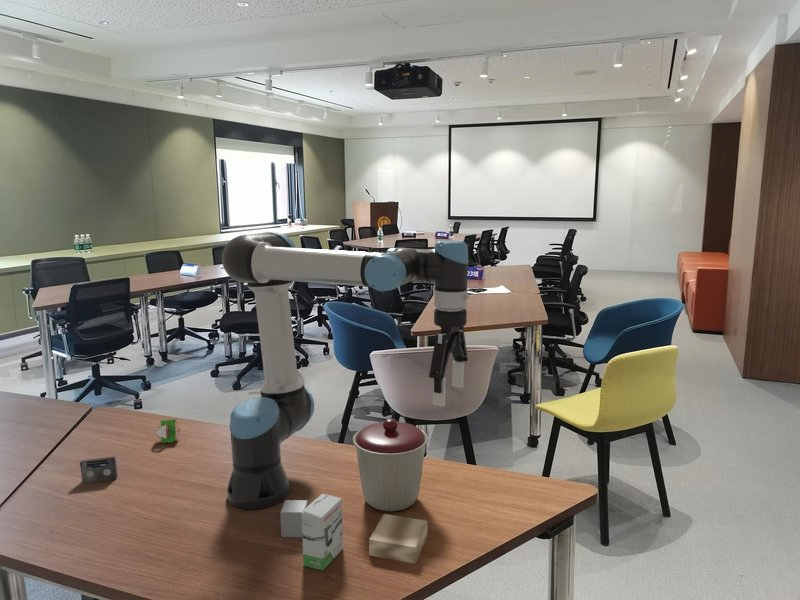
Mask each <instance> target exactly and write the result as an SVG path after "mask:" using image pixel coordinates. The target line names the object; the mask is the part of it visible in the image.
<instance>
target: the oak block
mask: <svg viewBox="0 0 800 600" xmlns="http://www.w3.org/2000/svg"><path fill="white" fill-rule="evenodd" d="M427 537H428V520H425V519H418V518H412V517H406V516H399V515H393V514H387V513H384V514H383V515H382V517H381V518H380V520H379V521H378V523H377V524H376V527H375V529H374V530H373V532H371V534H370V537H369V539H368V554H369V556H372V557H378V558H382V559H388V560H394V561H400V562H404V563H409V564H417V561H418V559H419V556H420V554H421V552H422V550H423V548H424V546H425V545H424V544H425V542H426V540H427Z"/></svg>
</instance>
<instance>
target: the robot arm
mask: <svg viewBox="0 0 800 600" xmlns="http://www.w3.org/2000/svg"><path fill="white" fill-rule="evenodd" d="M468 250H469V248H468V244H467V243H466V242H465V241H463V240H438V241H436V242H435V245H434V248H429V249H428V248H426V249H425V248H411V247H409V248H407V247H403V246H402V247H390V248H388V249H387V250H386V252H375V251H373V252H369V251H353V250H338V249H337V250H336V249H335V250H334V249H320V248H319V249H315V248H300V247H296V244H295V243H294V242H293V240H292V239H291V238H289V236H287V235H285V234H283V233H281V232H275V231H274V232H273V231H271V232H269V231H266V232H260V233H252V234H242V235H238V236H236V237H234V238H232V239H230V241H228V242H227V244H225V247H224V248H223V250H222V253H221V263H222V267H223V269H224V271H225V272H226V274H227V275H228V276H229V277H230V278H231V279H232V280H234V281H236V282H239V283H244V284H245V283H246V285H247V288H248V289H249V290H250V291H252V293H254V298H255V299H254V300H255V307H256V317H257V324H258V326H257V327H258V334H259V340H260V350H261V359H262V366H263V374H264V383H263V384H262V385H261V386H260V388H259V389H260V390H259V391H260V397H254V398H251V399H245V400H244V401H241V402H240V403H238V405H236V406H234V408H233V409H232V411H231V412H230V415H229V416H230V417H229V419H230V422H229V432H230V441H231V442H230V443H231V455H232V456H231V458H232V471H231V475H230V477H229V482H228V485H227V487H226V489H227V491H226V496H227V501H228V503H229V504H230V505H231V506H233V507H234V508H238V509H241V510H261V509H266V508H269V507H273V506H275V505H278V504H279V503H281V502H283V501H285V499H286V498H287V497H288V495H289V493H290V482H289V478H288V477H287V474H286V472H285V468H284V466H283V464H282V457H281V444H282V443H283V442H284V441H286V440H287V439H288V438H290V437H291V436H292V435H294V434H295V433H296V432H299V431H301V430H302V429H303V428H304V427H306V425H307V424H308V423H309V422H310V421H311V419H312V417H313V414H314V412H315V401H314V398H313V396H312V393H311V392H309V390H308V388H307V387H305V381H303V380H302V379H301V378H299V377H298V368H297V358H296V349H295V341H294V334H293V333H294V332H293V323H292V314H291V313H292V311H291V304H290V303H291V302H290V295H289V289H290V287H291V286H292V285H293V283H294V282H298V283H299V282H301V283H312V284H313V283H316V284H328V285H343V286H356V287H366V288H371V289H373V290H375V291H377V292H389V291H393V290H396V289H397V288H399V287H401V286H403V285H405V284H408V283H411V282H428V283H429V282H434V291H433V293H434V294H433V295H434V296H433V306H434V307H435V308H434V310H433V323H434V325H435V326H437V327H440V333H435V334H434V346H433V350H432V357H431V363H430V369H429V374H428V378H430V379H432V405H433V406H435V407H436V406H438V407H446V382H447V381H446V377H445V375H446V370H447V367H448V362H449V358H450V354H451V355H452V357H453V361H452V368H451V369H452V370H451V371H452V372H451V373H452V378H451V387H452V388H458V389H463V388H464V378H465V377H464V376H465V373H464V371H465V362H468V357H467V356H468V351H467V343H466V337H465V328H464V327H465V326H466V325H467V309H466V308H467V305H468V300H469V299H470V295H468V271H469V262H470V261H469V252H468Z"/></svg>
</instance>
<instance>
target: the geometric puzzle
mask: <svg viewBox="0 0 800 600" xmlns="http://www.w3.org/2000/svg"><path fill="white" fill-rule="evenodd" d="M159 424H160V425H158V427H159V428H158V429H156V431H155V435H156V436H157V435H158V437H159V438H160V439H159V441H160V443H161V444H167V442H168V443H173V442H172V441H176V442H177V437H179V435H178V434H179V433H180V429H181V428H180V426H179V424H178V422H177V420H176V419H167V420H160V422H159ZM176 436H177V437H176Z"/></svg>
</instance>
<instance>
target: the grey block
mask: <svg viewBox="0 0 800 600" xmlns="http://www.w3.org/2000/svg"><path fill="white" fill-rule="evenodd" d="M307 506H308V499H307V500H306V499H305V500H303V499H300V500H299V499H297V500H296V499H294V500H293V499H286V500H285V499H284V503H283V505H282V508H281V510H280V514H279V515H280V533H281V534H280V535H281V538H303V537H302V512H303V510H304V509H305V508H306V507H307Z"/></svg>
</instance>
